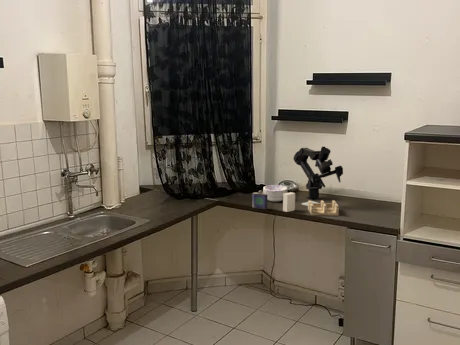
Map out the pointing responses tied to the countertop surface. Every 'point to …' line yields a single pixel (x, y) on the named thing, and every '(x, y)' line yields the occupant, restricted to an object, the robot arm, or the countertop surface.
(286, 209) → the white rectangular block
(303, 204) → the drying mat
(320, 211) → the rack
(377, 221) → the countertop surface
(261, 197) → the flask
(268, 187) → the paper bowls
